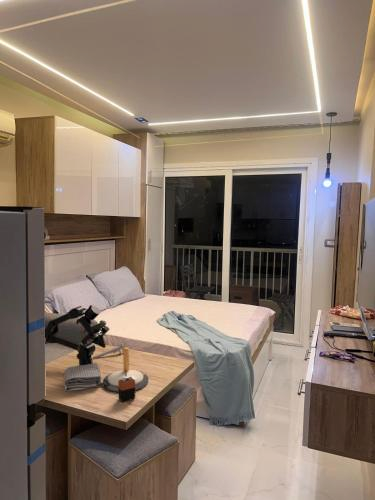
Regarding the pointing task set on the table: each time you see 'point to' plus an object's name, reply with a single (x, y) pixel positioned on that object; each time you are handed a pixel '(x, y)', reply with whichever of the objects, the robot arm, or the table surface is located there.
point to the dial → (125, 371)
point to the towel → (82, 377)
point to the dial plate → (116, 389)
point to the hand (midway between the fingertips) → (105, 347)
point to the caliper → (110, 351)
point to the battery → (126, 389)
